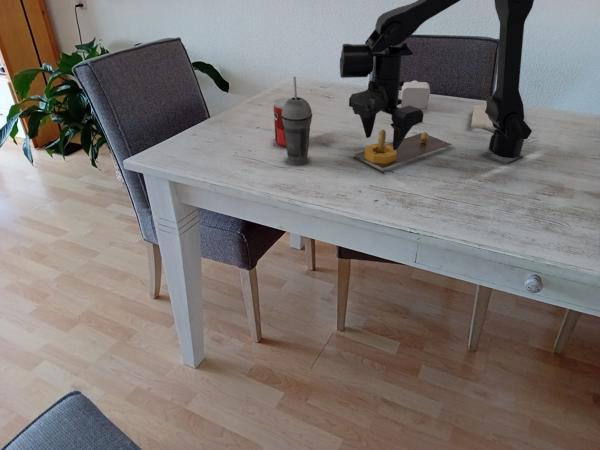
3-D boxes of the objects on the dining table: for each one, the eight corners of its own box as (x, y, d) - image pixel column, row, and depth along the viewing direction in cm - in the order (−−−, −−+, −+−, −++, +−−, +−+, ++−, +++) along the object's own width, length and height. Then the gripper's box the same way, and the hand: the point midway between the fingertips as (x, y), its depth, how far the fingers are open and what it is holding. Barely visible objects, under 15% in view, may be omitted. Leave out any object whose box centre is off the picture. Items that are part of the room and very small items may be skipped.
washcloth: (514, 115, 136) (517, 105, 134) (515, 136, 122) (518, 125, 120) (473, 111, 139) (475, 101, 138) (469, 131, 125) (471, 120, 124)
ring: (402, 158, 108) (403, 151, 107) (379, 166, 105) (380, 159, 104) (380, 148, 114) (381, 141, 113) (358, 155, 110) (358, 148, 109)
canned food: (285, 135, 125) (283, 95, 119) (310, 140, 122) (309, 100, 116) (269, 144, 120) (267, 103, 114) (295, 150, 116) (294, 108, 110)
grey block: (422, 99, 148) (427, 70, 141) (425, 117, 141) (431, 88, 134) (397, 99, 149) (401, 70, 142) (399, 116, 142) (403, 87, 135)
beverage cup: (286, 169, 107) (283, 83, 96) (279, 157, 113) (276, 75, 102) (316, 165, 109) (316, 80, 98) (307, 153, 114) (307, 72, 104)
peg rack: (451, 148, 116) (456, 118, 111) (382, 173, 104) (385, 140, 100) (421, 136, 123) (425, 107, 118) (353, 158, 111) (355, 127, 107)
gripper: (331, 73, 102) (330, 139, 110) (390, 92, 89) (383, 165, 97) (369, 66, 107) (364, 129, 115) (429, 83, 94) (420, 153, 102)
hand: (381, 143), depth 107 cm, fingers open, 9 cm apart
